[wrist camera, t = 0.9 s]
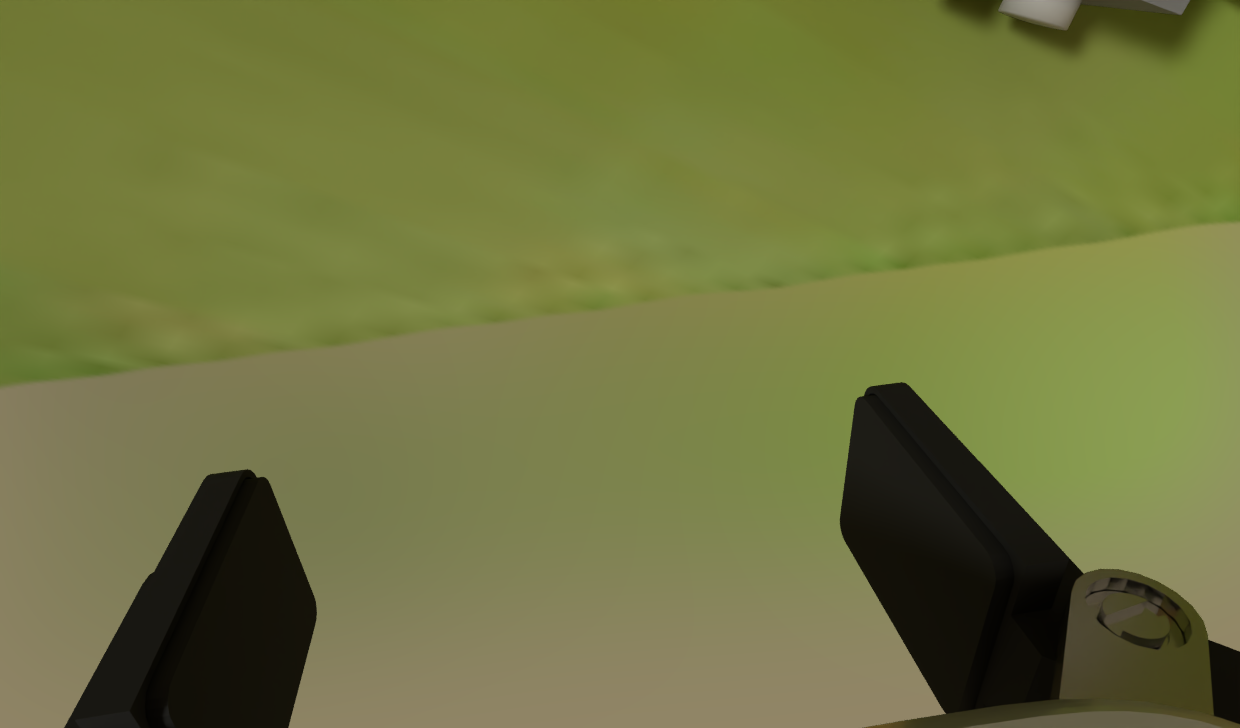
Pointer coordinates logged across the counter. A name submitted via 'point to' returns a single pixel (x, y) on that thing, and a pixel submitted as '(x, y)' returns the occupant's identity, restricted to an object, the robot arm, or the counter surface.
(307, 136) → the counter surface
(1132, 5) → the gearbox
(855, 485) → the robot arm
